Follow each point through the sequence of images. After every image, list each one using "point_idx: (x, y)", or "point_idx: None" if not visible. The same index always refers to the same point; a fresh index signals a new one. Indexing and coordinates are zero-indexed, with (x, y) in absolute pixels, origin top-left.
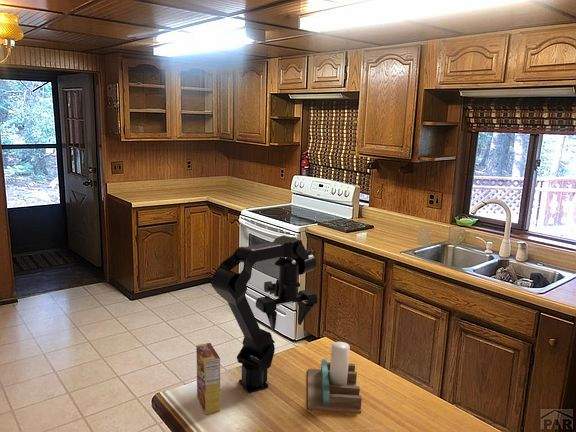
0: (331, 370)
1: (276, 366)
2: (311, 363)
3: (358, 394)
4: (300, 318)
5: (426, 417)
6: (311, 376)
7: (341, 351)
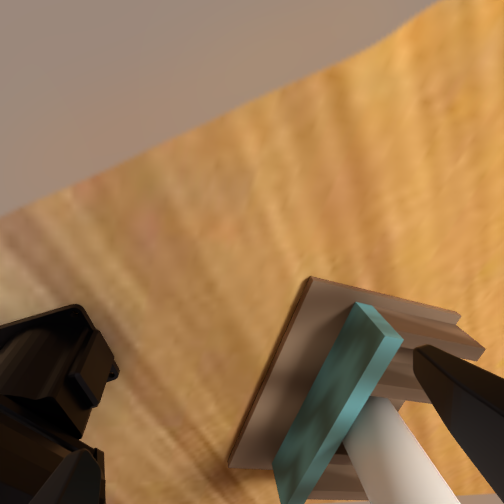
0: (359, 476)
1: (182, 225)
2: (351, 223)
3: None
4: (481, 453)
5: (471, 474)
6: (303, 333)
7: None
